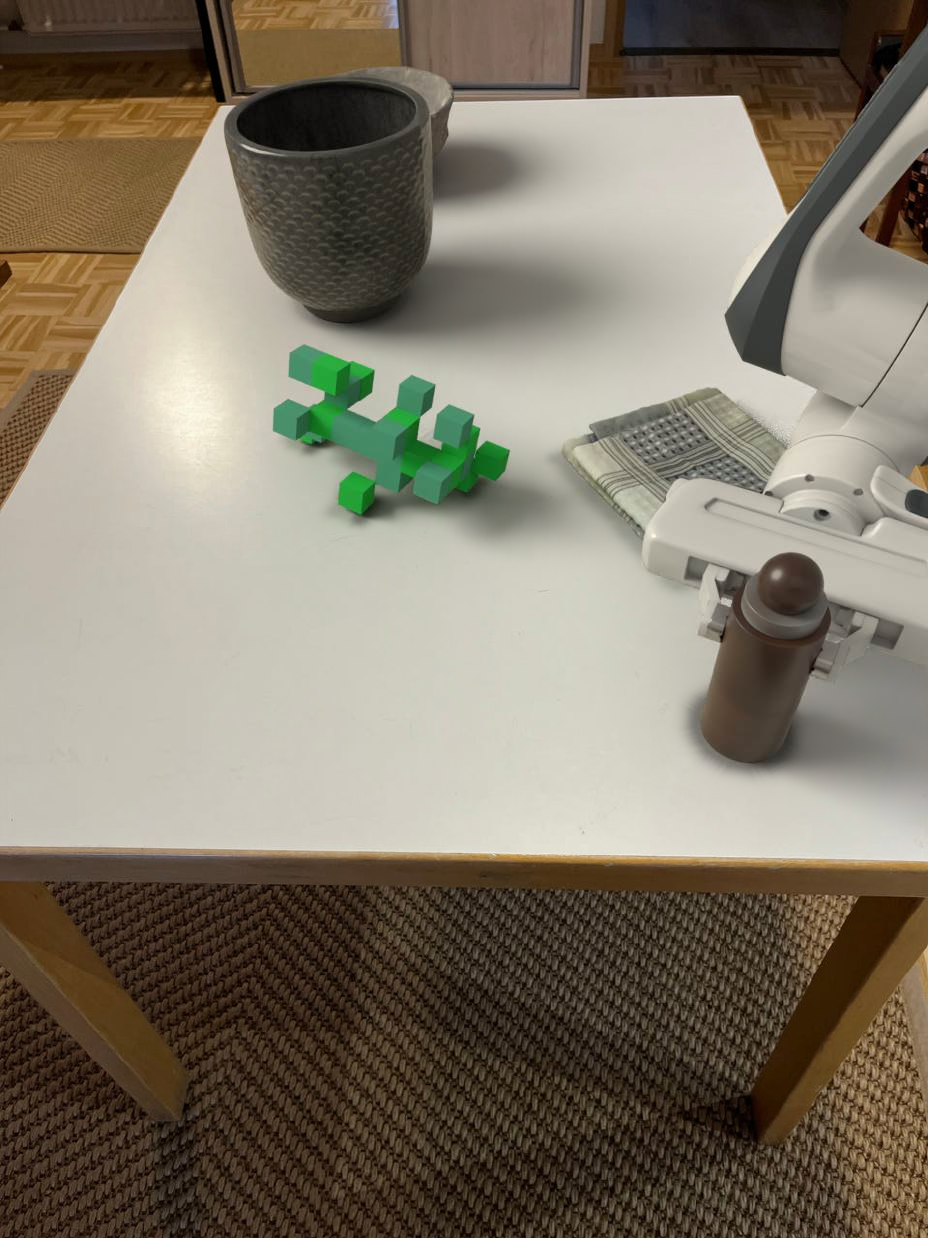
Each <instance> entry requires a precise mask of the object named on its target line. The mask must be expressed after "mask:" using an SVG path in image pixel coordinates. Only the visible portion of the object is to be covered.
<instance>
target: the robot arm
mask: <svg viewBox="0 0 928 1238" xmlns="http://www.w3.org/2000/svg"><path fill="white" fill-rule="evenodd" d="M927 149H928V23H927V24H926V26H925V27H924V28H923V30H922V31H920V33H919V35H918V36H917V38H916V39H915V40H914V41H913V43H912V44H911V46H910V47H909V48H908V49H907V51H906V52H905V54H904V55H903V56H902V57H901V58H900V60H898V62H897V64H895V65H894V67H893V68H892V70H891V71H890V72H889V74H887V76H886V77H885V78H884V79H883V82H882V83H881V85H879V87H878V89H876V91H875V92H874V94H873V95H872V97H871V98H870V100H869V101H868V103H866V105H865V106H864V107H863V109H862V110H861V112H860V113H859V115H858V116H857V119H856V120H855V121H854V122H853V123H852V124H851V126H850V127H849V129H848V130H847V132H846V133H845V134H844V135H843V136H842V139H841V140H840V141H839V142H838V144H837V145H836V147H835V148H834V150H833V151H832V152H831V153H830V155H829V156H828V158H827V160H826V161H825V162H824V163H823V164H822V166H821V168H820V170H819V171H818V172H817V173H816V175H815V176H814V177H813V179H812V180H811V181H810V184H809V185H808V187H807V188H806V190H805V191H804V192H803V194H802V195H801V197H800V198H799V199H798V201H797V202H796V203H795V204H794V206H793V207H792V208H791V210H790V211H789V212H788V214H787V215H786V216H785V217H784V218H783V219H782V220H781V221H780V222H779V223H778V224H777V225H776V226H775V227H774V228H773V229H772V230H771V231H770V232H768V234H766V235H765V237H764V238H763V239H762V240H761V241H760V242H759V243H758V244H757V245H756V247H755V248H754V249H753V250H752V251H751V253H750V254H749V255H748V257H747V258H746V260H745V261H744V263H743V264H742V266H741V268H740V270H739V272H738V274H737V276H736V277H735V279H734V281H733V284H732V286H731V289H730V291H729V295H728V298H727V302H726V303H727V304H726V312H725V313H724V321H725V324H726V327H727V330H728V333H729V336H730V338H731V341H732V344H733V346H734V347H735V349H736V352H737V353H738V355H739V357H740V359H741V361H742V362H743V363H747V364H749V365H752V366H755V367H758V368H760V369H763V370H765V371H769V372H772V373H775V374H777V375H779V376H782V377H789V378H792V379H794V380H796V381H798V382H800V383H803V384H804V385H807V386H809V387H811V388H813V389H815V390H816V391H815V392H814V394H813V396H811V398H810V400H809V401H808V402H807V404H806V406H805V408H804V409H803V411H802V413H801V414H800V417H799V418H798V420H797V422H796V424H795V426H794V428H793V430H792V433H791V435H790V440H789V445H788V447H786V448H787V449H786V450H785V452H784V453H783V454H782V456H781V457H780V459H779V461H778V462H777V464H776V466H775V468H774V470H773V472H772V474H771V476H770V478H769V480H768V482H767V484H766V487H765V489H764V491H762V492H761V491H758V490H755V489H751V488H748V487H744V486H741V485H735V484H730V483H726V482H722V481H719V480H718V479H717V478H714V477H710V476H705V475H700V476H699V478H684V479H683V478H679V479H677V480H676V481H675V482H674V483H673V484H672V486H671V487H670V489H669V491H668V492H667V494H666V496H665V498H664V503H663V504H662V506H661V507H660V508H659V509H658V511H657V512H656V513H655V515H654V516H653V517H652V519H651V520H650V522H649V523H648V525H647V527H646V531H645V534H644V539H643V540H642V545H641V560H642V563H643V565H644V567H645V569H646V571H647V572H649V573H651V574H652V575H656V576H658V577H662V578H664V579H667V580H670V581H674V582H676V583H679V584H682V585H685V586H687V587H691V588H694V589H697V590H699V593H698V596H697V597H698V598H697V599H698V603H699V605H700V609H701V612H702V618H701V620H700V624H699V628H698V632H697V636H699V637H701V638H704V639H707V640H710V641H713V642H716V643H719V644H721V641H722V637H723V633H724V630H725V626H726V622H727V618H728V614H729V611H730V607H731V606H728V605H726V604H724V603H722V598H723V599H726V600H730V601H732V600H733V597H734V594H735V593H736V591H737V590H738V589H739V588H740V587H741V586H742V585H743V584H744V583H746V582H748V580H749V579H750V578H751V577H752V576H753V575H755V574H756V573H758V572H759V571H760V570H761V568H762V566H763V565H764V564H765V563H766V562H767V561H768V560H769V559H770V558H772V557H774V556H776V555H778V554H781V553H786V552H796V553H801V554H804V555H806V556H808V557H810V558H811V559H812V560H813V561H815V562H816V563H817V565H818V566H819V567H820V569H821V571H822V574H823V577H824V592H825V594H826V597H827V603H828V604H827V605H828V607H829V609H830V613H831V624H830V628H829V630H828V633H827V634H830V635H833V636H836V637H839V638H842V640H840V641H839V642H835V641H832V640H828V639H825V640H824V643H823V645H822V648H821V650H820V652H819V654H818V656H817V658H816V661H815V663H814V666H813V668H812V671H811V673H810V677H814V678H816V679H819V680H822V681H824V682H828V683H831V684H833V685H834V684H835V683H836V681H837V678H838V676H839V674H840V672H841V669H842V667H844V666H846V665H848V664H850V663H852V662H854V661H855V660H857V659H859V658H861V657H862V656H865V655H866V652H867V650H868V648H871V649H874V650H877V651H880V652H883V653H886V654H889V655H892V656H895V657H898V658H901V659H904V660H907V661H910V662H913V663H916V664H918V665H920V666H923V667H927V668H928V491H927V490H925V489H923V488H922V487H920V486H919V485H917V484H916V483H914V482H912V481H911V480H910V477H911V475H913V472H914V470H915V468H916V466H919V467H920V468H921V467H925V466H928V264H927V263H924V262H922V261H920V260H918V259H916V258H913V257H911V256H909V255H906V254H904V253H902V252H900V251H897V250H895V249H893V248H890V247H889V246H886V245H884V244H881V243H879V242H877V241H875V240H873V239H871V238H870V237H868V236H867V235H866V234H865V233H864V232H862V230H861V228H860V227H861V226H862V225H863V223H864V222H865V221H866V220H867V219H868V218H869V216H870V215H871V214H872V213H873V211H874V210H875V209H876V208H877V206H878V205H879V204H880V203H881V202H882V200H883V199H884V198H885V197H886V195H888V193H889V192H890V191H891V190H892V188H893V187H894V186H895V185H896V184H897V182H898V181H899V180H900V179H901V177H902V176H903V175H904V174H905V173H906V171H907V170H908V169H909V168H910V167H911V166H912V164H913V163H914V162H915V161H916V160H917V159H918V157H920V156H921V154H922V153H923V152H925V151H926V150H927Z"/></svg>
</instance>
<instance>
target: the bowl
mask: <svg viewBox="0 0 928 1238" xmlns="http://www.w3.org/2000/svg"><path fill="white" fill-rule="evenodd" d="M332 76H360V77H372V78H378V79H384V80H389V81H393V82H397V83H399V84H402V85H405V86H407V87H409V88H411V89H413V90H415V91H416V92H417V93H419V94H420V95H421V96H422V97H423V98H424V99H425V100H426V102H427V104H428V107H429V111H430V117H431V139H432V157H433V160H434V159H435V158H436V157H437V156H438V155H439V154H440V152H441V151H442V150H443V148H444V147H445V144H446V142H447V140H448V137H449V135H450V133H449V127H448V123H449V118H450V113H451V109H452V107H453V103H454V101H455V91H454V87H453V85H451V84H450V83H449V82H448V81H447V79H445V77H443V76H441V75H438V74H436V73H433V72H430V71H428V70H426V69H420V68H415V67H410V66H377V67H367V68H357V69H355V70H348V71H344V72H340V73H335V74H333V75H330V76H329V77H332Z"/></svg>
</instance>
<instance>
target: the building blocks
mask: <svg viewBox="0 0 928 1238" xmlns="http://www.w3.org/2000/svg"><path fill="white" fill-rule="evenodd" d="M375 370H376V369H373V368H371V367H369V366H366V365H364V364H361V363H359V362H356V361H353V360H351V361H347V360H345V359H342V358H340V357H338V356H335V355H332V354H330V353H328V352H325V351H322V350H320V349H317V348H314V347H312V346H310V345H307V344H305V343H304V344H301V345H300V346H298V347H297V348H295V349H294V350H292V351H290V352H289V358H288V376H287V377H288V378H290V379H293V380H295V381H297V382H300V383H302V384H305V385H307V386H309V387H312V388H315V389H317V390H319V391H322V392H324V396H323V400H321V401H320V402H318V403H313V404H311V405H310V406H306V405H304V404H302V403H299V402H296V401H294V400H292V399H289V398H287V399H286V400H284V401H283V402H281V403H280V404H278V405H277V406H275V407H274V408H273V412H272V413H273V414H272V416H273V417H272V432H274V433H276V434H279V435H281V436H282V437H285V438H288V439H289V440H292V441H295V442H296V441H298V440H301V441H303V442H306V443H308V444H310V445H313V444H314V443H315V442H317V443H321V444H322V443H324V442H325V441H326V440H328V441H330V442H332V443H333V444H337V445H339V446H341V447H344V448H346V449H348V450H350V451H353V452H354V453H356V454H358V455H361V456H363V457H365V458H368V459H370V460H372V461H375V462H376V468H375V476H374V479H372V478H370V477H367V476H366V475H363V474H361V473H358V472H356V471H351V472H350V473H349V474H348V475H347V476H346V477H345V478H343V479H342V480H341V481H340V482H339V486H338V487H339V488H338V500H337V504H338V506H341V507H342V508H345V509H348V510H350V511H352V512H353V513H357V514H358V515H362V514H363V513H365V511H366V510H367V509H369V507H370V506H371V505H373V504H374V501H375V493H376V485H377V486H380V487H383V488H384V489H387V490H389V491H391V492H393V493H396V494H399V493H400V492H402V490H403V489H404V488H405V487H407V486H408V485H409V484H410V483H411V482H412V481H413V480H414V483H413V489H412V494H413V495H415V496H417V497H420V498H422V499H424V500H426V501H429V502H431V503H433V504H436V505H439V503H441V502H442V501H443V500H444V499H445V498H446V497H447V496H448V495H449V494H450V493H451V492H452V491H454V489H457V490H459V491H461V492H464V493H468V492H469V491H470V490H471V489H472V488H473V487H474V486H475V485H476V484H477V483H478V481H479V476H480V477H483V478H485V479H487V480H490V481H493V482H494V483H496V482H497V481H498V480H499V478H501V477H502V476H503V474H504V473H505V472H506V470H507V466H508V462H509V457H510V453H511V450H510V448H509V449H508V448H507V447H504V446H501V445H500V444H496V443H494V442H491V441H490V440H485V441H484V442H483V443H482V444H481V445H480V446H479V447H478V448H477V446H478V442H479V438H480V432H481V427H479V426H477V425H475V424H474V420H475V416H476V415H475V414H474V413H472V412H469V411H467V410H464V409H463V408H461V407H457V406H455V405H452V404H450V403H449V404H447V405H446V406H445V407H444V408H443V409H441V410H440V411H439V412H438V413H437V414H436V418H435V424H434V429H433V436H432V439H434V440H436V441H439V442H441V446H440V447H441V448H438V447H435V446H433V445H431V444H428V443H426V442H424V441H422V440H419V439H418V436H419V430H420V423H421V417H422V416H424V415H425V414H426V413H427V412H428V411H430V410H431V409H432V408H433V404H434V396H435V393H436V392H435V391H436V387H437V385H436V383H433V382H431V381H428V380H425V379H423V378H421V377H418V376H416V375H413V374H411V375H409V376H408V377H407V378H406V379H404V380H403V381H401V382H400V383H399V386H398V390H397V391H398V392H397V399H396V406H395V407H394V408H393V409H391V410H390V411H389V412H387V413H386V414H385V415H384V416H383V417H381V418H380V419H379V420H378V421H375V420H372V419H370V418H368V417H366V416H364V415H361V414H359V413H357V412H354V411H352V410H349V409H350V408H351V407H352V406H355V404H357V403H358V402H362V400H364V399H366V397H368V396H370V395H371V394H372V393H373V389H374V380H375V373H376V371H375Z"/></svg>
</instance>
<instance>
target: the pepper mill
mask: <svg viewBox="0 0 928 1238" xmlns="http://www.w3.org/2000/svg"><path fill="white" fill-rule="evenodd" d="M827 604H828V603H827V597H826V594H825V592H824V577H823V574H822V571H821V569H820V567H819V566H818V565H817V563H816V562H815V561H813V560H812V559H811V558H810V557H808V556H806V555H804V554H801V553H796V552H786V553H781V554H778V555H776V556H774V557H772V558H770V559H769V560H768V561H767V562H766V563H765V564H764V565H763V566H762V568H761V570H760V571H759V572H758V573H756V574H755V575H753V576H752V577H751V578H750V579H749V580H748V582H746V583H744V584H743V585H742V586H741V587H740V588H739V589H738V590H737V591H736V593H735V594H734V597H733V600H731V604H730V606H729V607H730V611H729V614H728V618H727V622H726V626H725V630H724V633H723V637H722V641H721V643H719V648H718V653H717V656H716V659H715V663H714V667H713V671H712V674H711V677H710V681H709V685H708V688H707V693H706V696H705V700H704V704H703V707H702V712H701V715H700V730H701V732H702V735H703V737H704V739H705V741H706V742H707V743H708V744H709V746H710V747H711V748H712V749H714V750H715V751H716V752H717V753H719V754H720V755H722V756H723V757H726V758H727V759H730V760H733V761H737V762H741V763H742V762H743V763H757V762H762V761H765V760H768V759H769V758H772V757H773V756H774V755H776V754H777V753H778V752H779V751H780V749H782V747H783V745H784V743H785V741H786V738H787V735H788V732H789V730H790V727H791V725H792V722H793V720H794V717H795V715H796V713H797V710H798V707H799V705H800V703H801V700H802V697H803V695H804V692H805V690H806V688H807V686H808V685H807V684H808V682H809V680H810V677H811V675H810V673H811V671H812V668H813V666H814V663H815V661H816V658H817V656H818V654H819V652H820V650H821V648H822V645H823V643H824V640H826V637H827V635H828V634H829V633H828V630H829V628H830V624H831V613H830V609H829V607H828V605H827Z"/></svg>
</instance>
